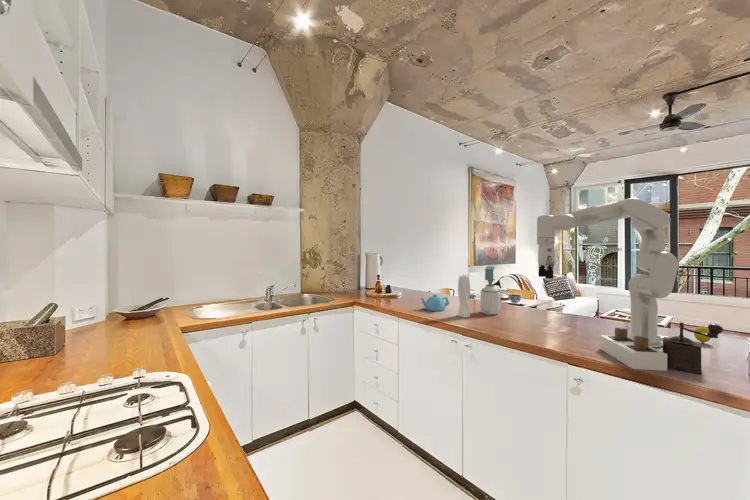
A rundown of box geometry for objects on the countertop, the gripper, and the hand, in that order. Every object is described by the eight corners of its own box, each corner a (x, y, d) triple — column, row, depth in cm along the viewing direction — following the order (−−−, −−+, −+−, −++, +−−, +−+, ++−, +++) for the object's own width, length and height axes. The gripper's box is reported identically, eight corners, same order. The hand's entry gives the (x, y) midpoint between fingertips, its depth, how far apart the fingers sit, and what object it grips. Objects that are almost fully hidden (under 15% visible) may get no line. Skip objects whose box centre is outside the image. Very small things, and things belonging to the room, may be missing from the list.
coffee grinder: (661, 367, 119) (662, 319, 119) (662, 359, 127) (662, 314, 127) (723, 379, 108) (724, 326, 108) (719, 370, 117) (720, 320, 116)
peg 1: (623, 341, 136) (623, 327, 136) (629, 344, 132) (629, 330, 132) (612, 340, 137) (612, 327, 137) (618, 343, 133) (618, 329, 133)
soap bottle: (502, 312, 215) (502, 266, 215) (498, 316, 205) (498, 267, 204) (483, 310, 222) (483, 265, 221) (478, 314, 211) (478, 266, 211)
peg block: (628, 350, 138) (628, 335, 138) (667, 370, 116) (667, 353, 116) (600, 348, 140) (600, 334, 140) (632, 368, 118) (633, 351, 118)
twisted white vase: (473, 317, 202) (474, 272, 202) (465, 318, 198) (465, 273, 197) (463, 314, 209) (463, 271, 209) (454, 316, 205) (454, 272, 204)
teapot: (437, 313, 215) (437, 297, 215) (419, 309, 226) (419, 294, 226) (450, 309, 226) (450, 294, 226) (432, 306, 237) (432, 292, 237)
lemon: (708, 345, 144) (708, 327, 144) (691, 342, 149) (692, 325, 149) (713, 343, 147) (713, 326, 147) (696, 340, 152) (697, 323, 152)
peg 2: (643, 351, 123) (643, 336, 123) (651, 354, 119) (651, 339, 119) (631, 350, 124) (631, 335, 124) (638, 354, 120) (638, 338, 120)
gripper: (561, 241, 143) (561, 279, 144) (547, 241, 160) (547, 276, 161) (543, 241, 145) (543, 279, 145) (531, 241, 162) (531, 275, 162)
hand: (545, 277), depth 153 cm, fingers open, 9 cm apart
